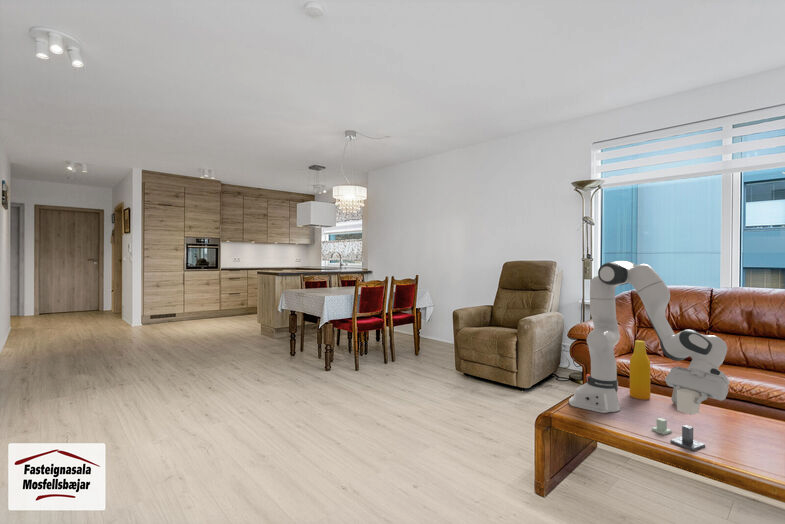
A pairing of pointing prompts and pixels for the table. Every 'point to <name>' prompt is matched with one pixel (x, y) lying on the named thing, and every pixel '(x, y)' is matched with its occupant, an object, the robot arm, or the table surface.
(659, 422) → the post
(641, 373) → the beer bottle
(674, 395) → the salt shaker
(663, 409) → the table surface
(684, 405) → the white rectangular block
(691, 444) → the post
